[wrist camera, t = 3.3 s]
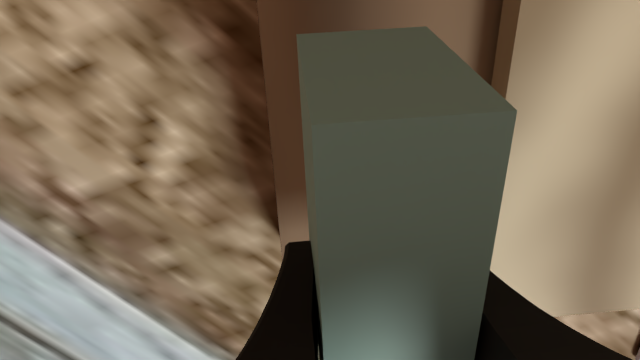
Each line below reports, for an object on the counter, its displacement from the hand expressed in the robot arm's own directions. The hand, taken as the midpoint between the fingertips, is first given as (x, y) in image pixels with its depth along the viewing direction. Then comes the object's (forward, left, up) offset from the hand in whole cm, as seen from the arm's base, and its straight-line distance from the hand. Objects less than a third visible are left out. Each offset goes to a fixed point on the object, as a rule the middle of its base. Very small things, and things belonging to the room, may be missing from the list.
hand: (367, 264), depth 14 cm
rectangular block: (0, 0, -1) cm, 1 cm away
